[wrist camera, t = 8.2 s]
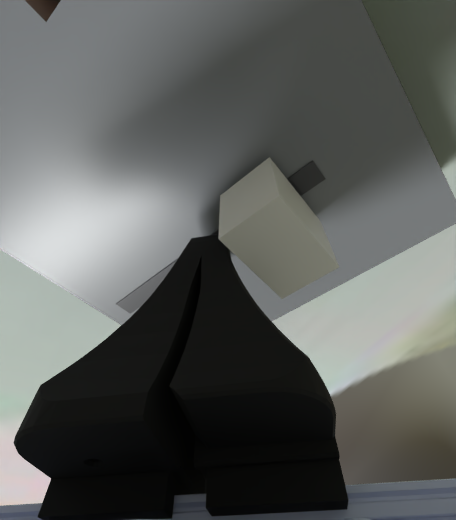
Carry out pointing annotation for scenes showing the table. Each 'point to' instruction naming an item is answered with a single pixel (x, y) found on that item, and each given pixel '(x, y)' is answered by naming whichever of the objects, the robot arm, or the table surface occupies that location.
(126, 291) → the control panel
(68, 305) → the table surface
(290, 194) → the slider knob
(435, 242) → the table surface
